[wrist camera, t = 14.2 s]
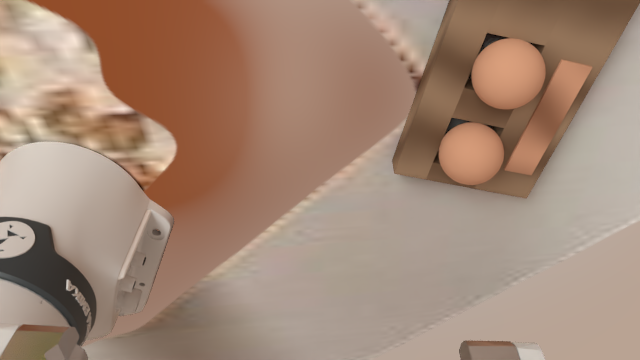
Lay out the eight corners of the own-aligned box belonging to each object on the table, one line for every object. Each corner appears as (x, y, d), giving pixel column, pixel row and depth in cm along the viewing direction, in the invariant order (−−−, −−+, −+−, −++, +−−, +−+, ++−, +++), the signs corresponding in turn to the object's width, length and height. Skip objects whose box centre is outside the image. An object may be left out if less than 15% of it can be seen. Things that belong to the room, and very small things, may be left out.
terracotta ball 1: (481, 166, 45) (495, 202, 41) (426, 155, 44) (435, 191, 40) (505, 117, 42) (522, 151, 38) (446, 105, 42) (458, 138, 37)
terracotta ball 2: (514, 95, 41) (536, 127, 37) (454, 83, 40) (470, 115, 36) (543, 35, 38) (570, 63, 34) (479, 21, 37) (499, 48, 33)
